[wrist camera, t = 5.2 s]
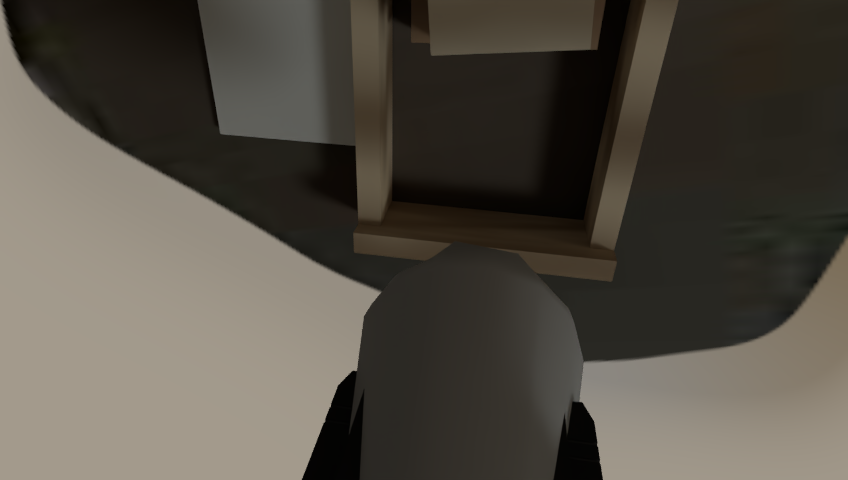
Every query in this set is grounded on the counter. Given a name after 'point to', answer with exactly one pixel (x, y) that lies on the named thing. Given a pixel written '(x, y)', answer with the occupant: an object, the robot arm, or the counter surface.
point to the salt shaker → (466, 371)
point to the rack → (519, 233)
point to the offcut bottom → (422, 32)
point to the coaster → (281, 68)
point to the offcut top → (509, 26)
